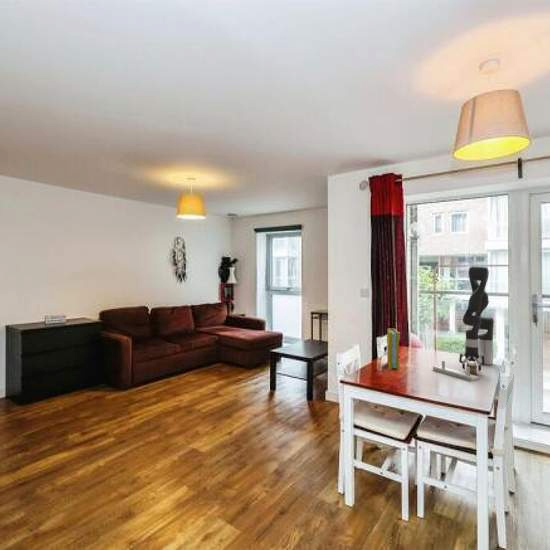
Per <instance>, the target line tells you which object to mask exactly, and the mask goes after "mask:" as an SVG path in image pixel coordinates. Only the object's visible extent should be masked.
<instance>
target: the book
mask: <svg viewBox="0 0 550 550" xmlns="http://www.w3.org/2000/svg"><path fill="white" fill-rule="evenodd" d="M386 331H387V332H386V333H387V334H386V344H387V346H386V347H387V349H386V350H387V354H386V355H387V366H388V369H389V370H393V369H396V370H397V371H400V369H401V368H400V366H401V363H400V340H401V339H400V338H401V333H400V331H398V329H396V328H390V327H389V328H387V330H386Z"/></svg>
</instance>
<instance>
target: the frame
mask: <svg viewBox="0 0 550 550" xmlns="http://www.w3.org/2000/svg"><path fill="white" fill-rule="evenodd" d="M466 367H470V374H471V375H475V376H478V375H477V374H478V373H477V372H478V368H477V367H478V365H477V362H476V361H475V362H473V361H467V362H466Z"/></svg>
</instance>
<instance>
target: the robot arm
mask: <svg viewBox="0 0 550 550" xmlns="http://www.w3.org/2000/svg"><path fill="white" fill-rule="evenodd" d="M489 274H490V271H489V268H488V267H485V266H470V267H469V269H468V279H469V282H470V287H471V288H470V289H471V295H470V296H469V299H468V305H467V309H466V311H465V313H464V314H463V317H462V322H463V325H465V326H468V327H469V326H470V327H472V328H469V329H468V328H467V329H466V330H465V341H464V343H465V344H464V353H461V352H460V353H459V359H458V362H459V363H460V364H461V365H462V366H461V368H462V369H463V370H466V369H465V368H466V364H467V361H472V362H475V363H476V364H478V365H477V367H478V368H477V372H480V371H482V366H485V364H486V366H488V365H489V366H490V365H491V364H492V365H493V364H494V323H495V322H494V318H493V317H492V316H491V317H490V316H483V315H482V313H483V311H485V309H486V308H487V307H488V305H489V303H490V301H489V295H488V293H487V291H486V286H487V283H488V279H489ZM479 282H480V284H479ZM480 330H483V331H486V332H483V333H479V331H480ZM464 357H465V358H464ZM463 358H464V359H463ZM462 359H463V360H462Z"/></svg>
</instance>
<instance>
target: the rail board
mask: <svg viewBox="0 0 550 550" xmlns="http://www.w3.org/2000/svg"><path fill="white" fill-rule="evenodd" d="M465 368H466V369H465V370H466V371H465V372H464V371H461V370H456V369H452V368H449V367H446V361H445V360H441V365H440V366H436V365H433V366H432V370H433V371H435V372H438V373H442V374H446V375H447V376H451V377H454V378H459V379H462V380H466V381H469V382H473V381H477V380H479V376H478V375H477V376H475V375H471V374H470V367H467V366H465Z"/></svg>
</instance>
